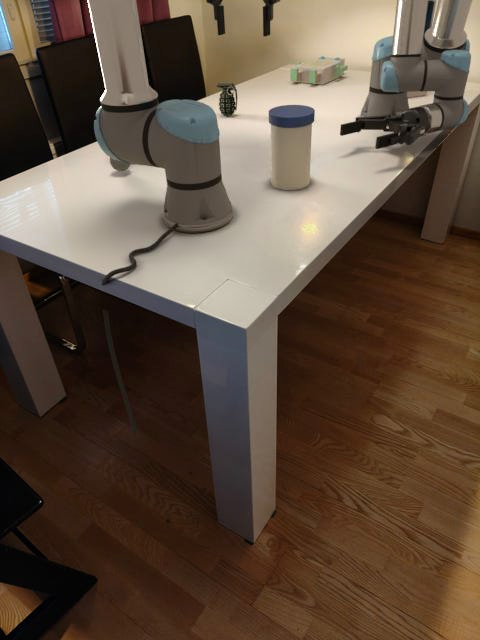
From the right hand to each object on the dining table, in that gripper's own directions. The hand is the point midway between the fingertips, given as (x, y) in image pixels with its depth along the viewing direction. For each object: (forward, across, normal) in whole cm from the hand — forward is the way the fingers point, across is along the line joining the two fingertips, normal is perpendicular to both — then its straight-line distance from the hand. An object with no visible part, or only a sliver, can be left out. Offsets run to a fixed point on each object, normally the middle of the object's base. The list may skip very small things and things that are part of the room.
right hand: (358, 136), depth 123 cm
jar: (+20, 0, -7) cm, 22 cm away
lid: (+20, 0, +9) cm, 22 cm away
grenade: (+4, +62, -7) cm, 62 cm away
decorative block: (-52, +86, -6) cm, 100 cm away
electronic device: (-60, +42, -6) cm, 74 cm away
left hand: (+13, +33, +21) cm, 42 cm away
